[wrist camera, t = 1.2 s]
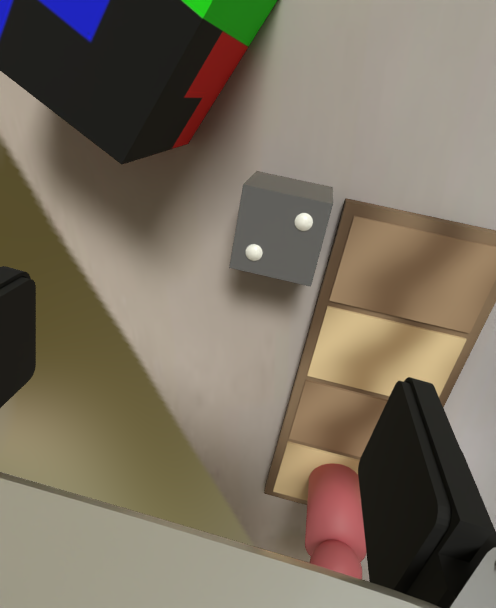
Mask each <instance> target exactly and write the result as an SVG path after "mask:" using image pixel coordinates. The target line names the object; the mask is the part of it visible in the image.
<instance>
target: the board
mask: <svg viewBox="0 0 496 608" xmlns="http://www.w3.org/2000/svg"><path fill="white" fill-rule="evenodd" d="M495 302H496V231H495V230H491V229H486V228H481V227H477V226H472V225H467V224H463V223H458V222H453V221H449V220H444V219H439V218H435V217H430V216H425V215H421V214H416V213H411V212H407V211H402V210H398V209H393V208H388V207H384V206H379V205H374V204H370V203H365V202H360V201H356V200H351V199H345V203H344V206H343V210H342V214H341V217H340V221H339V224H338V228H337V231H336V235H335V239H334V242H333V246H332V249H331V253H330V256H329V260H328V264H327V267H326V271H325V274H324V278H323V282H322V285H321V289H320V292H319V296H318V299H317V303H316V307H315V310H314V314H313V317H312V321H311V324H310V328H309V332H308V335H307V339H306V342H305V346H304V349H303V353H302V357H301V360H300V364H299V367H298V371H297V374H296V378H295V382H294V385H293V389H292V392H291V396H290V400H289V403H288V407H287V410H286V414H285V417H284V421H283V425H282V428H281V432H280V435H279V439H278V442H277V446H276V450H275V453H274V457H273V460H272V464H271V467H270V471H269V475H268V478H267V482H266V486H265V492H264V493H265V494H269V495H272V496H276V497H280V498H283V499H287V500H291V501H294V502H298V503H302V504H305V505H307V503H308V486H309V476H310V474H311V472H312V471H313V470H314V469H315V468H317V467H318V466H321V465H324V464H330V463H335V464H341V465H344V466H347V467H349V468H351V469H352V470H354V471H355V472H356V473H357V474H358V466H359V461H360V458H361V456H362V454H363V452H364V450H365V447H366V445H367V443H368V441H369V439H370V437H371V435H372V433H373V430H374V428H375V426H376V424H377V422H378V420H379V418H380V416H381V414H382V411H383V409H384V407H385V405H386V403H387V401H388V399H389V397H390V394H391V392H392V390H393V388H394V386H395V384H396V383H397V382H398V381H403V382H404V381H405V379H406V378H408V377H411V378H414V379H418V380H422V381H425V382H429V383H432V384H433V385H434V387H435V389H436V392H437V394H438V397H439V399H440V401H441V404H442V406H443V407H444V405H445V403H446V401H447V399H448V397H449V395H450V393H451V391H452V389H453V387H454V385H455V383H456V381H457V379H458V377H459V375H460V373H461V371H462V369H463V367H464V364H465V362H466V360H467V358H468V356H469V354H470V352H471V350H472V348H473V346H474V344H475V342H476V340H477V338H478V336H479V334H480V332H481V330H482V328H483V326H484V324H485V322H486V320H487V318H488V316H489V314H490V312H491V310H492V308H493V306H494V304H495Z"/></svg>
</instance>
